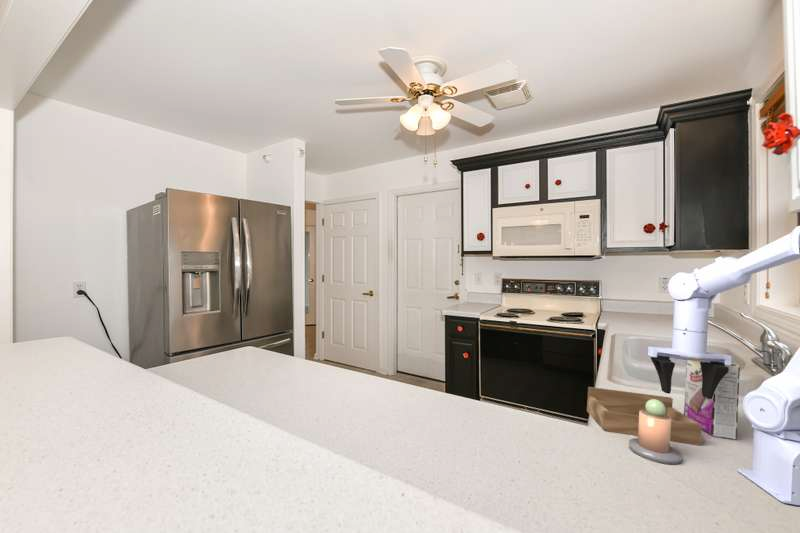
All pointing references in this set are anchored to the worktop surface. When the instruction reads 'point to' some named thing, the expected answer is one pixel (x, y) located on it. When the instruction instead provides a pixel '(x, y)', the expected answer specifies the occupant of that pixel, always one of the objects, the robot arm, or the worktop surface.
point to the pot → (654, 427)
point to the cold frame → (637, 414)
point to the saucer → (655, 454)
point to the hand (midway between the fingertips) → (686, 394)
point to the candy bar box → (713, 401)
